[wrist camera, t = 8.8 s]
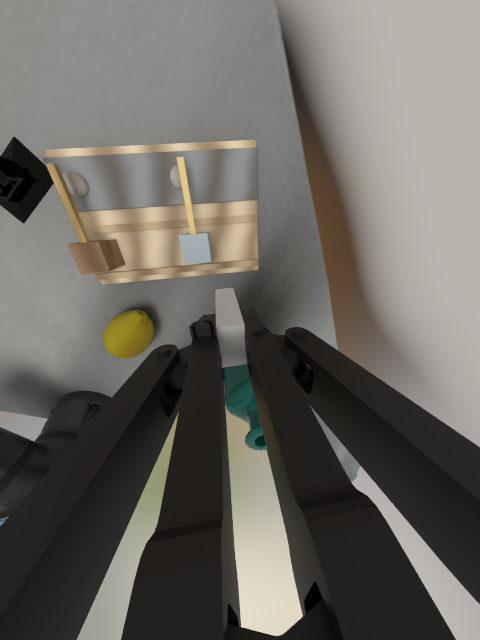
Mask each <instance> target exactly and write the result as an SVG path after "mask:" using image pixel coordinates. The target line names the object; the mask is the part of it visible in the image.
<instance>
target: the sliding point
mask: <svg viewBox="0 0 480 640" xmlns="http://www.w3.org/2000/svg"><path fill="white" fill-rule="evenodd" d="M177 162H178V167H179V173H180V179H181V184H182V190H183V195H184V201H185V207H186V212H187V218H188V223H189V229H190V233H188V234H182V235H179V239H180V244H181V249H182V254H183V259H184V264H195V263H207V262H211V261H212V252H211V245H210V237H209V232H201V233H197V232H196V226H195V220H194V214H193V208H192V202H191V196H190V190H189V184H188V177H187V171H186V165H185V159H184V157H177Z"/></svg>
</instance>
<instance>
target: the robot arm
mask: <svg viewBox="0 0 480 640" xmlns="http://www.w3.org/2000/svg"><path fill="white" fill-rule="evenodd" d="M215 301H216V314H212V315H203V316H202V317H201V318H200V319H199V320H198V321H196V322H194V323H192V324H191V325H190V327H189V328H190V332H191V336H192V344H191V345H189V346H188V347H185V348H182V349H179V350H178V348H177V346H175V345H171V344H169V345H163V346H160V347H158V348H156V349H154V350H153V351H152V352H151V353H150V354H149V355H148V357H147V358H146V359H145V360H144V361H143V362H142V364H141V365H140V366H139V367H138V368H137V369H136V370H135V372H134V373H133V374H132V375H131V376H130V377H129V379H128V380H127V381H126V382H125V383H124V384H123V385H122V387H121V388H120V389H119V390H118V391H117V392H116V394H115V395H114V396H113V397H112V398H109V397H107V396H104V395H102V394H98V393H94V392H74V393H70V394H67V395H65V396H63V397H62V398H61V399H60V400H59V401H58V402H57V403H56V404H55V405H54V407H53V408H52V410H51V412H50V416H49V418H48V420H47V422H46V423H45V426H44V427H43V430H42V432H41V434H40V435H39V437H38V438H37V439H36V440H35V441H31V440H29V439H27V438H24V437H22V436H20V435H17V434H15V433H13V432H10V431H8V430H6V429H3V428H1V427H0V640H77V637H78V635H79V633H80V631H81V628H82V626H83V624H84V622H85V620H86V617H87V615H88V613H89V611H90V608H91V606H92V604H93V602H94V600H95V597H96V595H97V593H98V591H99V588H100V586H101V584H102V582H103V579H104V577H105V575H106V573H107V570H108V568H109V566H110V564H111V561H112V559H113V557H114V555H115V552H116V550H117V548H118V546H119V543H120V541H121V539H122V537H123V535H124V532H125V530H126V528H127V526H128V523H129V521H130V519H131V517H132V515H133V512H134V510H135V508H136V506H137V503H138V501H139V499H140V497H141V494H142V492H143V490H144V488H145V485H146V483H147V481H148V479H149V477H150V474H151V472H152V470H153V468H154V465H155V463H156V461H157V459H158V456H159V454H160V452H161V450H162V448H163V445H164V443H165V441H166V438H167V436H168V434H169V432H170V430H171V427H172V425H173V423H174V420H175V418H176V416H177V414H178V412H179V415H178V420H177V425H176V431H175V436H174V441H173V446H172V452H171V457H170V463H169V468H168V473H167V478H166V483H165V489H164V494H163V499H162V505H161V510H160V515H159V520H158V524H157V527H156V529H155V532H154V534H153V535H152V537H151V538H150V539H149V540H148V542H147V543H146V545H145V549H144V550H143V553H142V555H141V558H140V562H139V565H138V569H137V573H136V577H135V580H134V585H133V589H132V594H131V598H130V603H129V607H128V611H127V616H126V620H125V624H124V629H123V634H122V638H121V640H456V639H455V638H454V636H453V634H452V632H451V631H450V629H449V627H448V625H447V624H446V622H445V620H444V619H443V617H442V616H441V614H440V612H439V610H438V608H437V607H436V605H435V603H434V602H433V600H432V598H431V596H430V595H429V593H428V591H427V590H426V588H425V586H424V584H423V583H422V581H421V579H420V578H419V576H418V574H417V573H416V571H415V569H414V567H413V566H412V564H411V562H410V561H409V559H408V557H407V555H406V554H405V552H404V550H403V549H402V547H401V545H400V543H399V542H398V540H397V538H396V537H395V535H394V533H393V532H392V530H391V528H390V526H389V525H388V523H387V521H386V520H385V518H384V517H383V515H382V514H381V512H380V511H379V509H378V508H377V506H376V505H375V504H374V503H373V502H372V501H371V499H370V498H369V497H368V496H367V495H365V494H363V493H362V492H360V491H358V490H357V489H356V488H355V487H354V486H353V485H352V483H351V481H350V480H349V478H348V476H347V474H346V472H345V471H344V469H343V467H342V465H341V463H340V461H339V459H338V457H337V456H336V454H335V452H334V450H333V448H332V446H331V444H330V443H329V441H328V439H327V437H326V435H325V433H324V431H323V429H322V428H321V426H320V424H319V422H318V420H317V418H316V416H315V414H314V413H313V411H312V409H311V407H312V408H313V410H314V411H315V412H316V413H317V414H318V415H319V417H320V418H321V419H322V420H323V421H324V423H325V424H326V425H327V426H328V427H329V429H330V430H331V431H332V432H333V433H334V434H335V436H336V437H337V438H338V439H339V440H340V442H341V443H342V444H343V445H344V446H345V448H346V449H347V450H348V451H349V452H350V453H351V455H352V456H353V457H354V458H355V459H356V461H357V462H358V463H359V464H360V465H361V466H362V468H363V469H364V470H365V471H366V472H367V474H368V475H369V476H370V477H371V478H372V480H373V481H374V482H375V483H376V484H377V485H378V487H379V488H380V489H381V490H382V491H383V493H384V494H385V495H386V496H387V497H388V499H389V500H390V501H391V502H392V503H393V504H394V506H395V507H396V508H397V509H398V510H399V512H400V513H401V514H402V515H403V516H404V517H405V519H406V520H407V521H408V522H409V523H410V525H411V526H412V527H413V528H414V529H415V531H417V533H418V534H419V535H420V536H421V537H422V539H423V540H424V541H425V542H426V544H427V545H428V546H429V547H430V548H431V550H432V551H433V552H434V553H435V554H436V555H437V557H438V558H439V559H440V560H441V561H442V563H443V564H444V565H445V566H446V567H447V568H448V569H449V571H450V572H451V573H452V574H453V575H454V576H455V577H456V578H457V579H458V581H459V582H460V583H461V584H462V585H463V586H464V587H465V589H466V590H467V591H468V592H469V593H470V594H471V595H472V596H473V597H474V599H475V600H476V601H477V602H478V603H479V604H480V447H478V446H477V445H475V444H474V443H472V442H471V441H469V440H468V439H467V438H465V437H464V436H462V435H461V434H459V433H458V432H456V431H455V430H454V429H452V428H451V427H449V426H448V425H446V424H445V423H443V422H442V421H440V420H439V419H437V418H436V417H434V416H433V415H432V414H430V413H429V412H427V411H426V410H424V409H423V408H421V407H420V406H418V405H417V404H415V403H414V402H412V401H411V400H409V399H408V398H407V397H405V396H404V395H402V394H401V393H399V392H398V391H396V390H395V389H393V388H392V387H390V386H389V385H387V384H386V383H385V382H383V381H382V380H380V379H379V378H377V377H376V376H374V375H373V374H371V373H370V372H368V371H367V370H365V369H364V368H363V367H361V366H360V365H358V364H357V363H355V362H354V361H352V360H351V359H349V358H348V357H346V356H345V355H343V354H342V353H341V352H339V351H338V350H336V349H335V348H333V347H332V346H330V345H329V344H327V343H326V342H324V341H323V340H321V339H320V338H319V337H317V336H316V335H314V334H313V333H311V332H310V331H308V330H306V329H304V328H300V327H294V328H289V329H287V330H286V331H285V335H276V334H272V333H271V332H270V330H269V329H268V328H266V327H264V326H263V324H262V322H261V320H260V319H259V316H258V314H257V312H256V311H254V310H252V309H249V310H241V311H240V309H239V305H238V302H237V299H236V296H235V293H234V290H233V288H225V289H216V290H215ZM247 362H248V375H249V380H251V384H252V389H253V393H254V397H255V401H256V406H257V410H258V414H259V418H260V423H261V427H262V431H263V435H264V440H265V444H266V448H267V452H268V457H269V461H270V465H271V469H272V474H273V478H274V482H275V486H276V491H277V495H278V499H279V504H280V508H281V512H282V516H283V521H284V525H285V529H286V534H287V538H288V543H289V550H290V557H291V563H292V569H293V573H294V578H295V583H296V587H297V592H298V596H299V601H300V605H301V609H302V614H303V617H302V618H301V619H300V620H299V621H298V622H297V623H295V625H293V626H292V627H291V628H290V629H289V630H288V631H287V632H285V633H284V634H283V635H280V636H272V635H269V634H265V633H261V632H257V631H253V630H249V629H246V628H242V627H241V620H240V605H239V591H238V580H237V569H236V560H235V550H234V537H233V536H234V535H233V520H232V505H231V490H230V473H229V458H228V442H227V427H226V412H225V396H224V380H223V370H222V368H223V367H230V366H237V365H244V364H247ZM308 365H309V366H310V367H309V366H308ZM310 406H311V407H310Z"/></svg>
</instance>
